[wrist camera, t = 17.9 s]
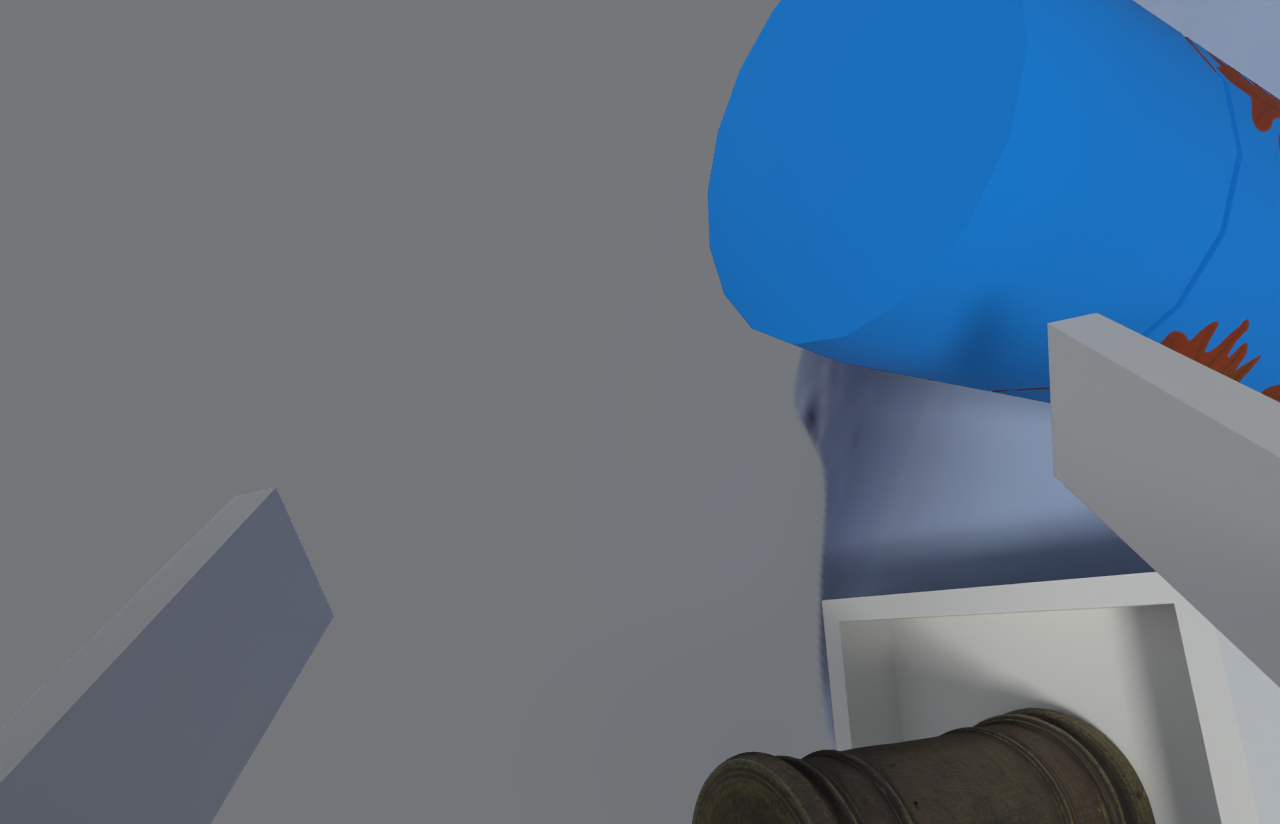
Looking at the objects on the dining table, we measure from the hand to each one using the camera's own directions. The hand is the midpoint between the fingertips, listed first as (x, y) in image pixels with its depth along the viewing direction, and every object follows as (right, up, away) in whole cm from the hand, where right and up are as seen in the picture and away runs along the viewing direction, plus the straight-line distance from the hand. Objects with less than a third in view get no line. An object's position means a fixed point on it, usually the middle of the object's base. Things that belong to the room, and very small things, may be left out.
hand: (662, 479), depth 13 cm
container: (+19, -17, +23) cm, 35 cm away
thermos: (+26, +5, +19) cm, 32 cm away
